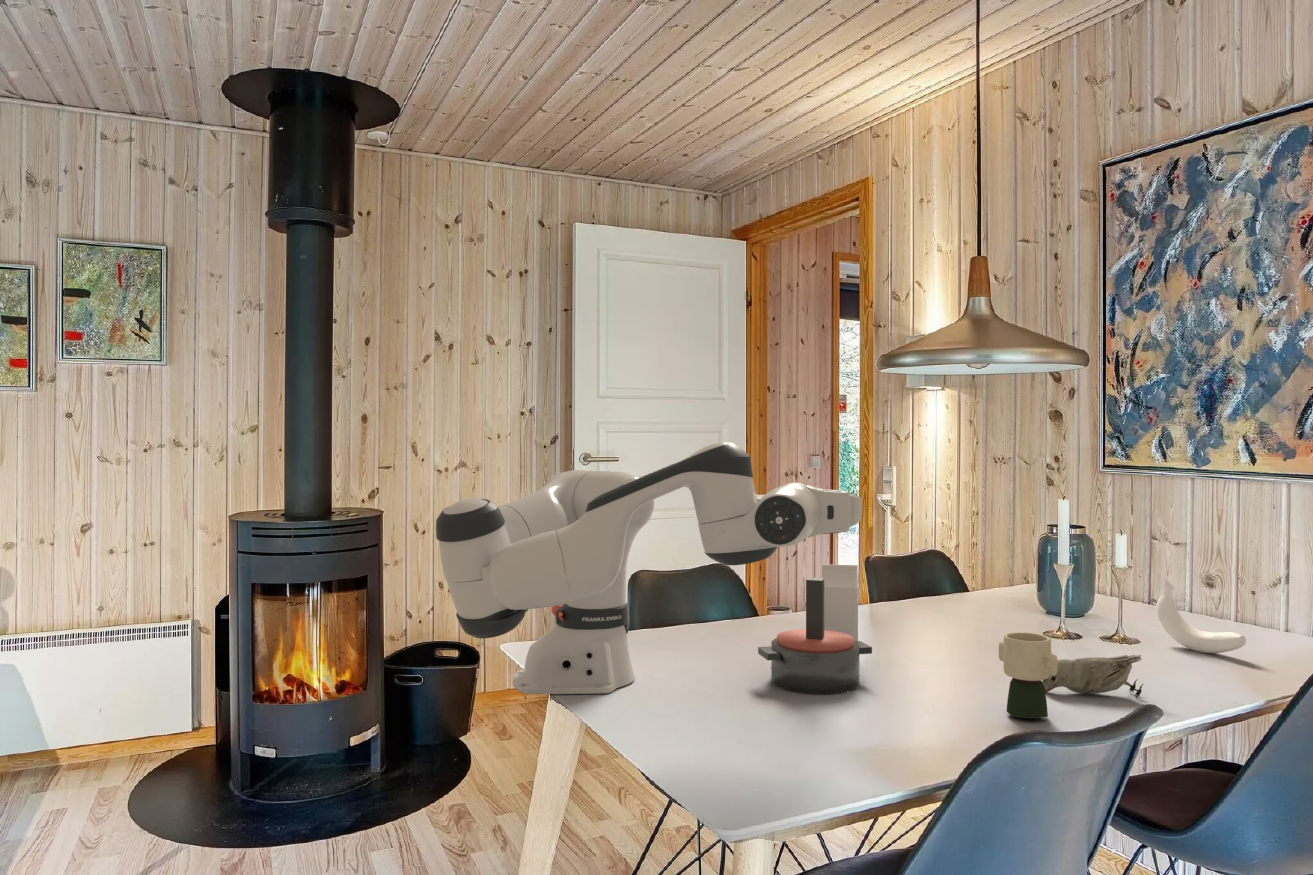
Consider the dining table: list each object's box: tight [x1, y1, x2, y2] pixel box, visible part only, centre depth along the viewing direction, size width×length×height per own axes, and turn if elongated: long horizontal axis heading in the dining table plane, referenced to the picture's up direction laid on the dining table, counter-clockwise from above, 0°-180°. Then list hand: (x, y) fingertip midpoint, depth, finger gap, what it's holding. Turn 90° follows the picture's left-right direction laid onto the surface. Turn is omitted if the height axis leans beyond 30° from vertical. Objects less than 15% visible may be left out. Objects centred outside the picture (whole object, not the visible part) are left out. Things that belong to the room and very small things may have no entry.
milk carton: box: [821, 563, 859, 641], centre depth 181 cm, size 7×7×19 cm
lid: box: [776, 576, 854, 653], centre depth 163 cm, size 14×14×12 cm
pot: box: [757, 637, 873, 696], centre depth 163 cm, size 20×16×7 cm
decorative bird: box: [1041, 654, 1144, 700], centre depth 155 cm, size 5×16×8 cm, turn 80°
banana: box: [1155, 577, 1247, 654], centre depth 185 cm, size 5×19×15 cm, turn 28°
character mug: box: [998, 631, 1058, 721], centre depth 143 cm, size 11×7×13 cm, turn 29°
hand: (804, 504), depth 154 cm, fingers open, 8 cm apart
